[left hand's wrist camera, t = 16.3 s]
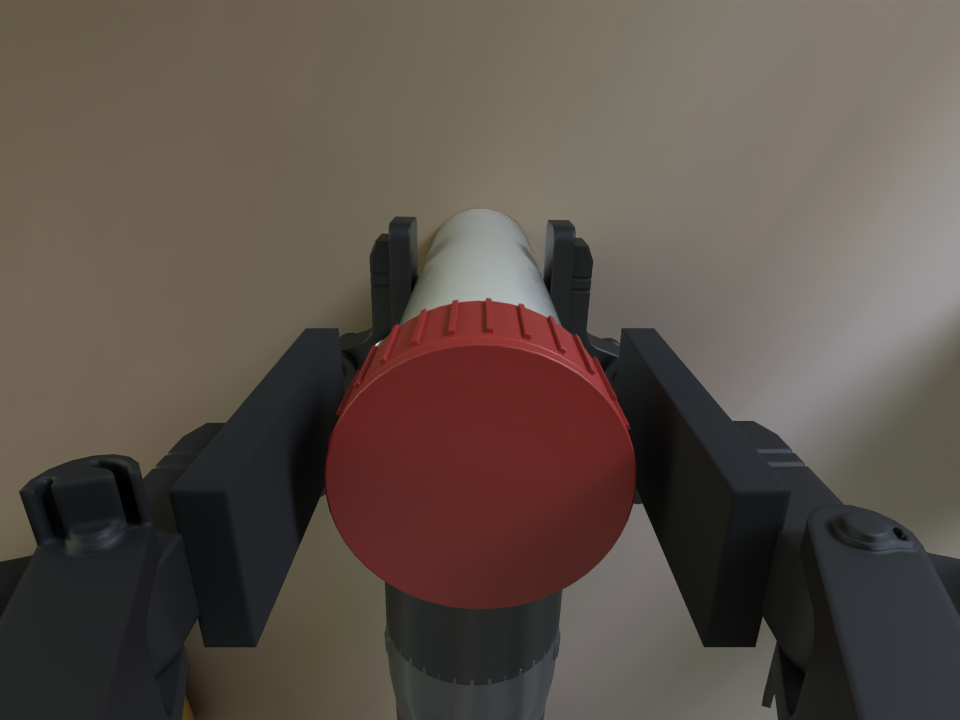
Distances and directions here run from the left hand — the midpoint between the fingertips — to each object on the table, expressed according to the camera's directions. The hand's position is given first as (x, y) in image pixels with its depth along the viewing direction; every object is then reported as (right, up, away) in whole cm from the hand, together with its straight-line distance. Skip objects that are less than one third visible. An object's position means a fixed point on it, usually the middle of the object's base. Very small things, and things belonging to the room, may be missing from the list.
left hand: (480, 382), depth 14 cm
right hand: (0, +5, +6) cm, 7 cm away
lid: (0, -2, -4) cm, 4 cm away
